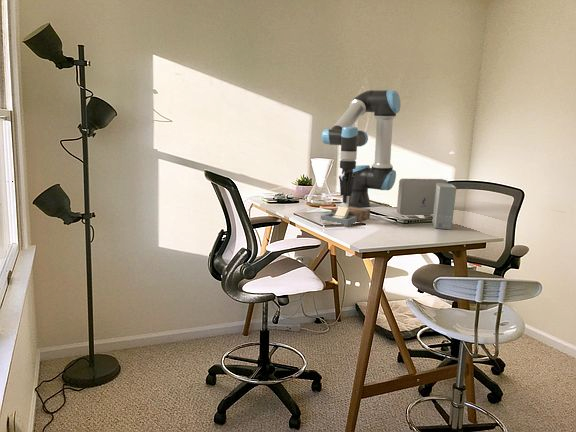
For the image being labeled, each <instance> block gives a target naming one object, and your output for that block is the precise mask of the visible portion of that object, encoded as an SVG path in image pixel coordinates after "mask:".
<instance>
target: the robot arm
mask: <svg viewBox="0 0 576 432" xmlns="http://www.w3.org/2000/svg"><path fill="white" fill-rule="evenodd" d="M400 110H401V98H400V95H399V92H398V91H396V90H390V89H386V90H384V89H383V90H382V89H380V90H379V89H377V90H373V89H370V90H366V91H364V92H361V93H360V94H358V95H357V96H355V97H354V98H353V99H352V100H351V101H350V103H349V107H348V108H347V109H346V110H345V112H344V113H343V114H342V115H341V116H340V117H339V119H338V120H337V121H336V123H335V124H333V126H332V127H331V128H326V129H323V131H322V132H321V141H322V143H323V144H325V145H328V146H340V153H339V155H340V158H339V159H340V161H339V168H340V169H342V171H341V175H339V176H338V178H339V188H340V189H339V192H340V196H342V206H341V207H346V208H348V207H349V206H352V207H358V208H368V207H370V206H371V201H370V197H369V189H372V190H379V191H390V190H391V189H392V188H394V185H395V182H396V177H397V171H396V170H394V166H393V165H392V164H391V157H392V141H393V140H392V139H393V122H394V121H393V120H394V119H395V118H396V117H397V114H398V113H399V112H400ZM366 113H373V116H374V118H375V119H376V125H375V126H376V127H375V128H376V130H375V145H374V146H375V151H374V162H373V164H372V165H371V166H370V164H364V165H357V161H356V160H357V154H358V153H357V152H358V147H363V146H366V144H368V140H369V136H368V134H367V132H366V131H364V130H359V129H358V127H357V126H354V125H355V123H356V122H357V121H358V119H359V118H360V117H361V116H363V115H364V114H366Z"/></svg>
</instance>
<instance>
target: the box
mask: <svg viewBox="0 0 576 432" xmlns="http://www.w3.org/2000/svg"><path fill="white" fill-rule="evenodd" d="M335 214H336V213H331V212H329V213H325V214H322V215H320V220H321V219H322V220H327V221H332V222H337V223H341V224H344V226H345V227H344V228H350V227H351V226H350V225H351V224H353V223H355V222H357V217H356V216H349V215H348V216H347V218H346V219H342V218H336V217H332V216H335ZM349 226H350V227H349Z"/></svg>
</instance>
